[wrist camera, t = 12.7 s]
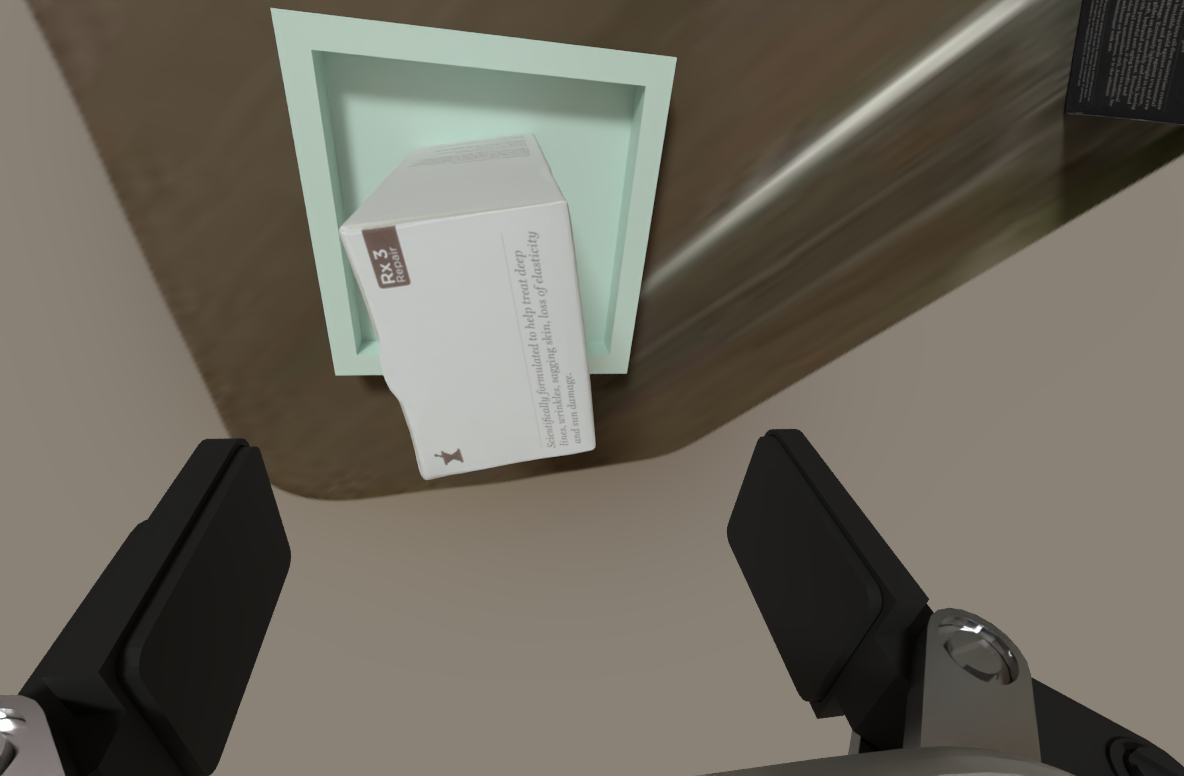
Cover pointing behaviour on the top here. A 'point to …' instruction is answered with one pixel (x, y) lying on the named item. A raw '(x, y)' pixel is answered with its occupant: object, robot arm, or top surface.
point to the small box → (1129, 61)
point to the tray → (471, 112)
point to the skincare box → (476, 304)
